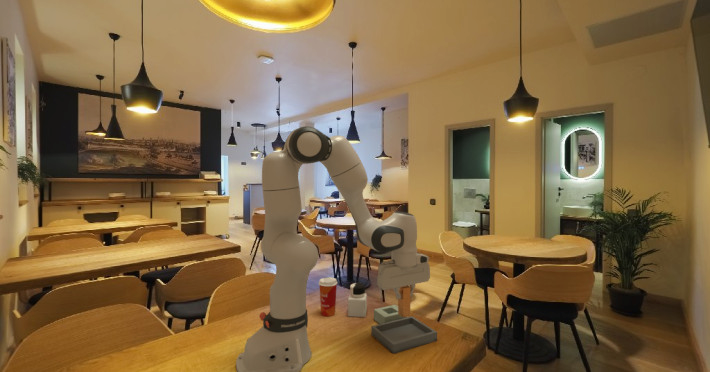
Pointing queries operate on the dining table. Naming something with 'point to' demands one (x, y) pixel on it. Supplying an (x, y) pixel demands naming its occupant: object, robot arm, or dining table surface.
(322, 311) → the paper cup
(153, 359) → the dining table surface
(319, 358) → the dining table surface
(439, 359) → the dining table surface
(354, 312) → the medicine bottle
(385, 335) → the tray
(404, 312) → the pin
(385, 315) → the socket block
